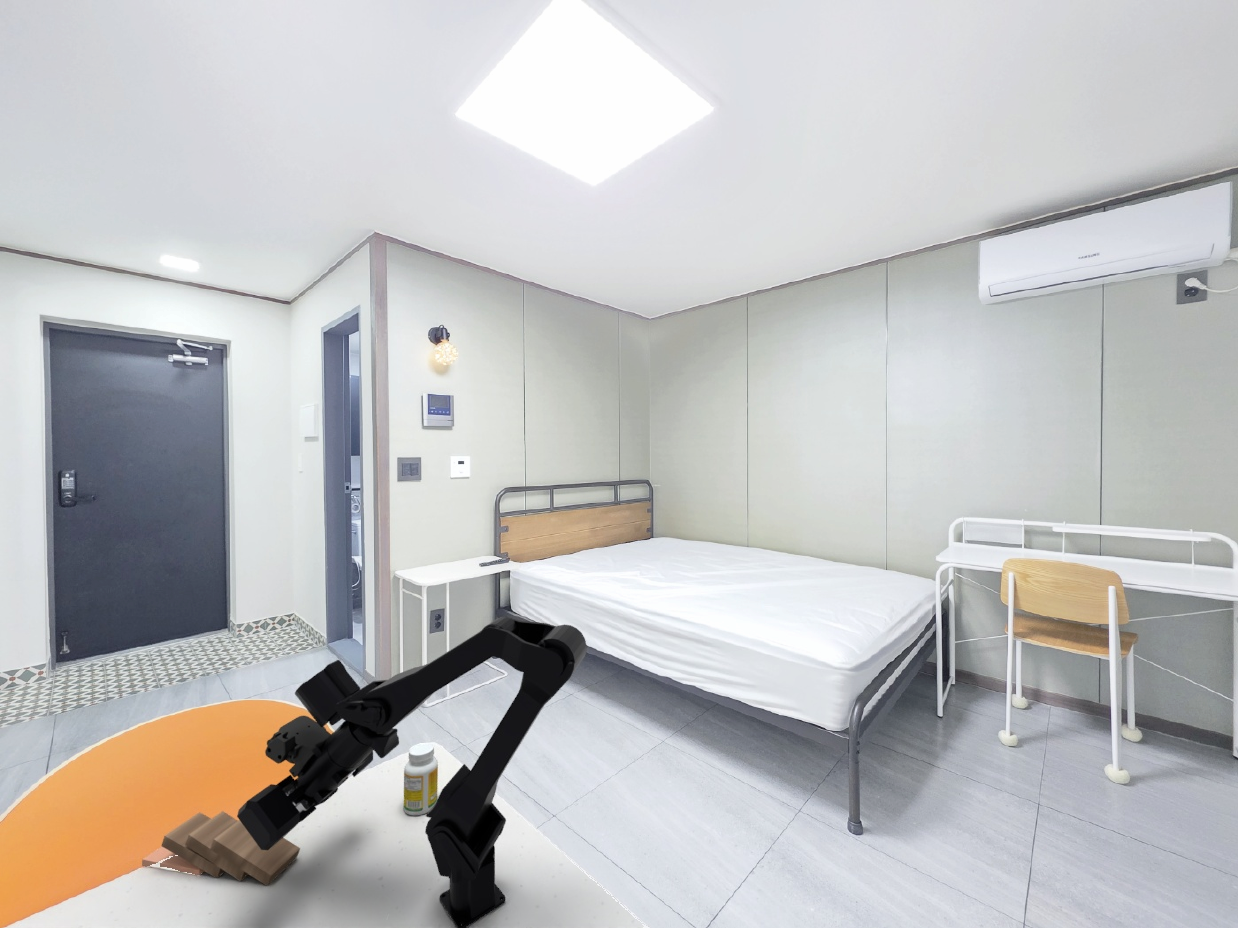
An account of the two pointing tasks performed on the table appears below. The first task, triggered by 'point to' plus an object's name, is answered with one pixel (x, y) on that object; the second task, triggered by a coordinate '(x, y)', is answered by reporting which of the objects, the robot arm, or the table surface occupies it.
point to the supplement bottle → (420, 779)
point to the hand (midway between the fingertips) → (277, 819)
